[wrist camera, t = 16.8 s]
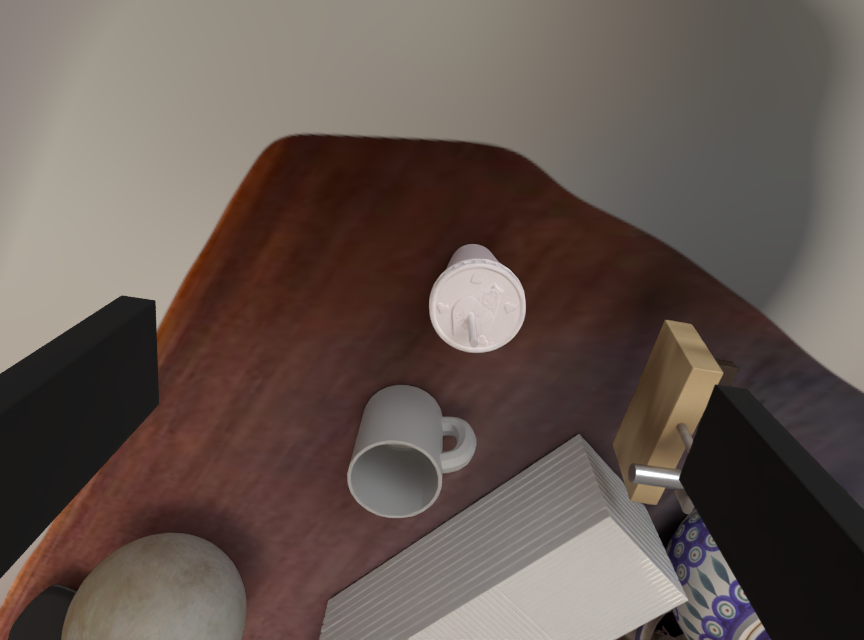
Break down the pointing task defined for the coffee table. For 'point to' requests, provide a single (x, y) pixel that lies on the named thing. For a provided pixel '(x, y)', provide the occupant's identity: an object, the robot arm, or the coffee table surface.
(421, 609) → the stack of papers
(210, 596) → the decorative sphere
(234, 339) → the coffee table surface
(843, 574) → the robot arm
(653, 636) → the bear figurine
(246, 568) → the coffee table surface
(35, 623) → the computer mouse
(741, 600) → the teapot
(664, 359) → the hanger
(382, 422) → the cup
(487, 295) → the smoothie
